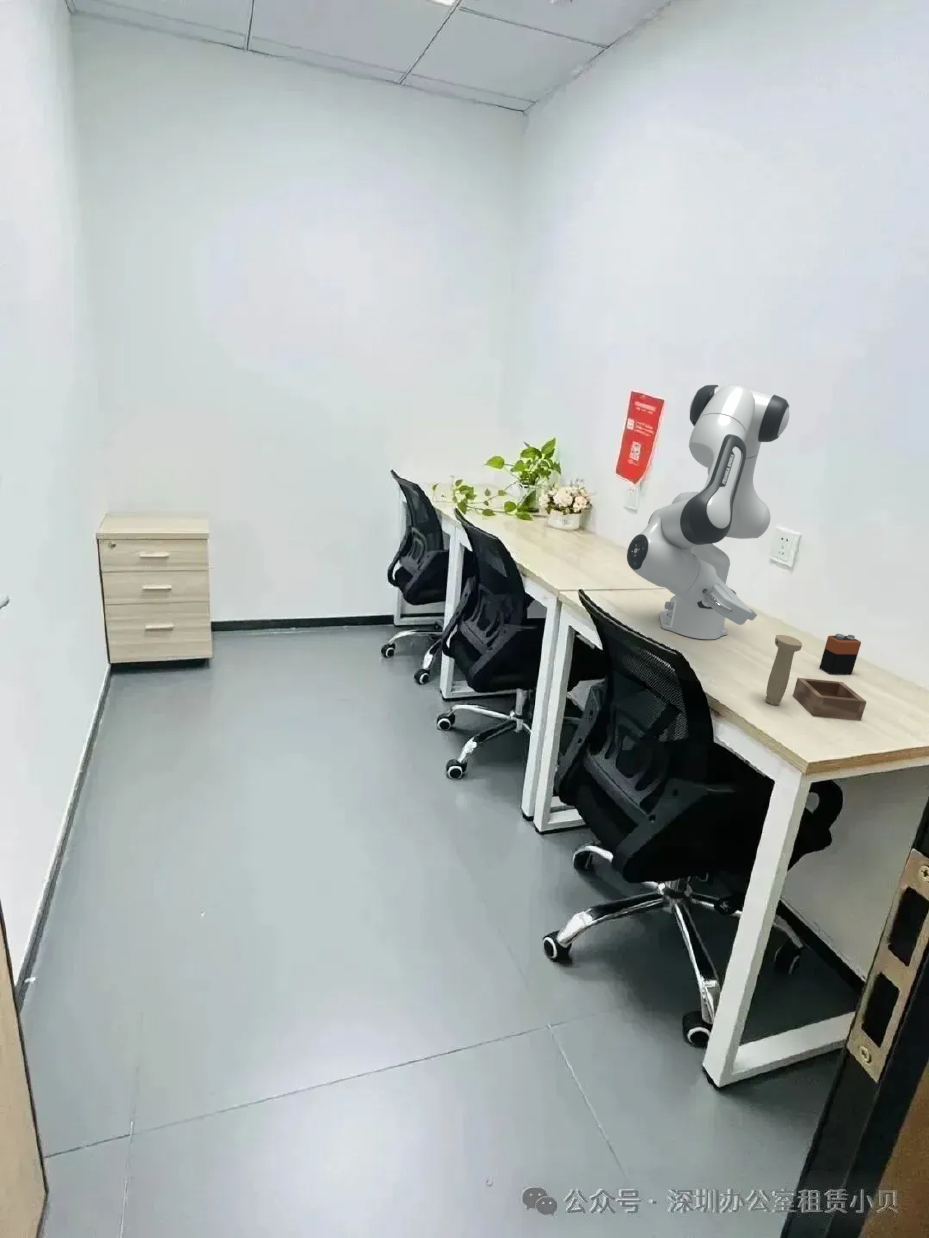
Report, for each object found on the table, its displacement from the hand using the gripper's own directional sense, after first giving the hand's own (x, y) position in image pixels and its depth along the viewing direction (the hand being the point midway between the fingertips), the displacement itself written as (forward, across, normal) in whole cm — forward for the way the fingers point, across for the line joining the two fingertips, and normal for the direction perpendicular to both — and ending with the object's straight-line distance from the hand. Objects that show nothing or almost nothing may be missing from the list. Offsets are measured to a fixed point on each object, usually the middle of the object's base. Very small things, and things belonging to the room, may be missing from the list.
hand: (743, 605), depth 150 cm
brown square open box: (+28, -10, +10) cm, 31 cm away
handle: (+17, -8, +15) cm, 24 cm away
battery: (+46, +11, +7) cm, 48 cm away
